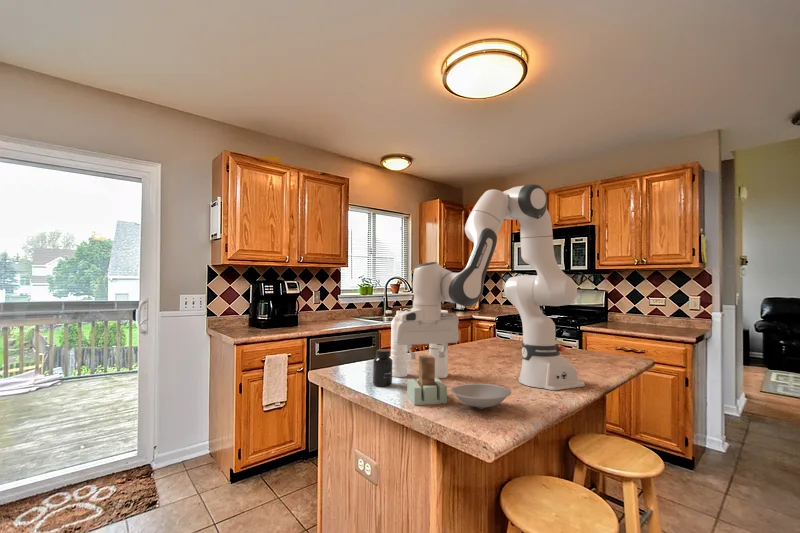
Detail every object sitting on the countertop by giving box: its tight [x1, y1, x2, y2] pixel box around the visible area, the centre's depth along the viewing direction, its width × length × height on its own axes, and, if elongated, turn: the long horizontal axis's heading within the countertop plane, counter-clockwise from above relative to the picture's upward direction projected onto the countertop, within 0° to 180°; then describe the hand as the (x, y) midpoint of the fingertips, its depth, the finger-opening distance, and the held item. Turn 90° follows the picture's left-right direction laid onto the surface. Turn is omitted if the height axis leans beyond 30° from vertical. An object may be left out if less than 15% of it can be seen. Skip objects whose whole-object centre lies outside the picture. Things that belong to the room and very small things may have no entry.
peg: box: [418, 354, 435, 398], centre depth 117 cm, size 4×4×12 cm
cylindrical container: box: [428, 309, 449, 379], centre depth 145 cm, size 7×7×25 cm
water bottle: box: [385, 309, 409, 378], centre depth 145 cm, size 9×6×25 cm
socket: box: [406, 378, 448, 406], centre depth 117 cm, size 10×10×5 cm
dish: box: [450, 383, 512, 409], centre depth 109 cm, size 18×14×5 cm
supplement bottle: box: [372, 348, 393, 388], centre depth 132 cm, size 7×7×12 cm
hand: (427, 357), depth 118 cm, fingers open, 8 cm apart
